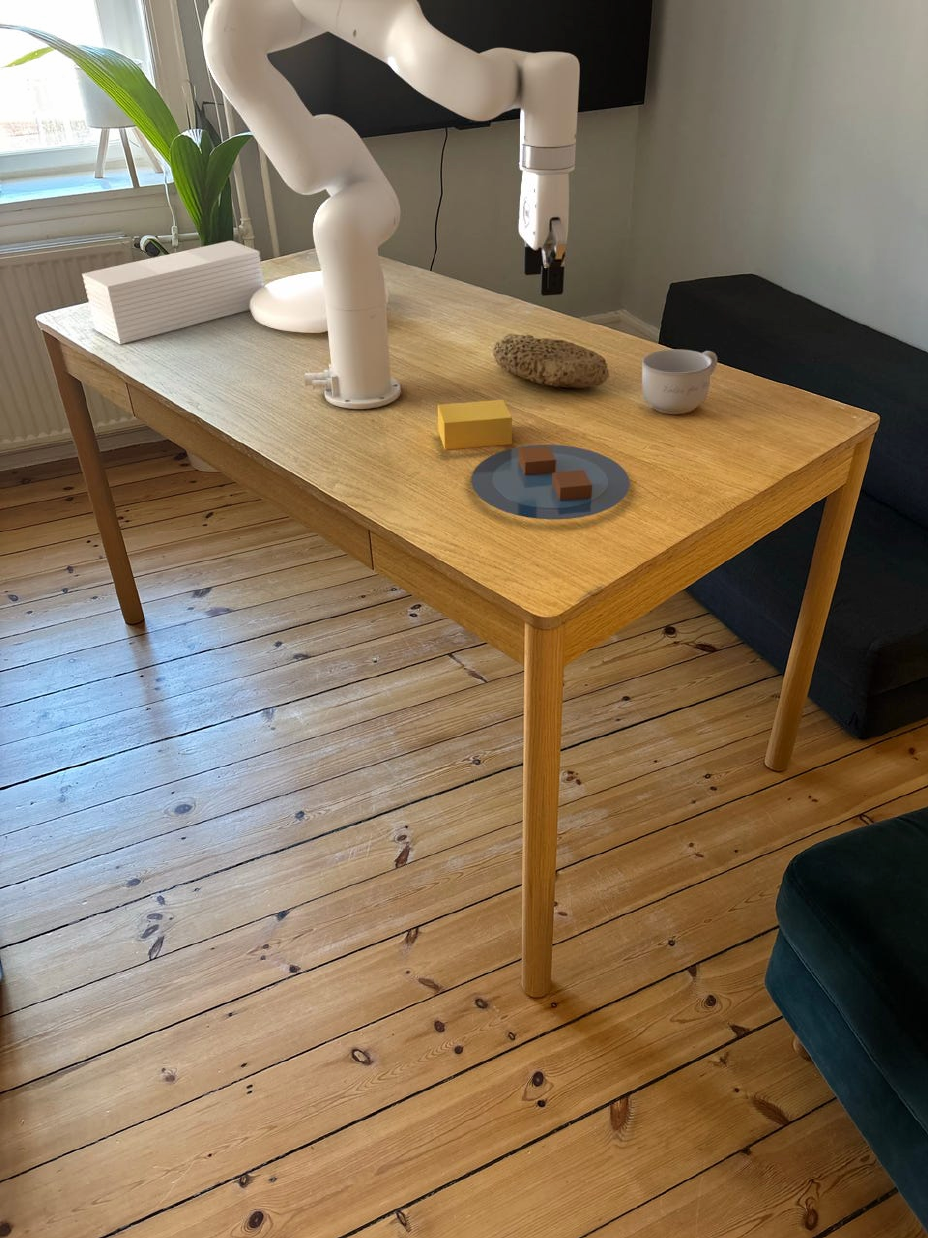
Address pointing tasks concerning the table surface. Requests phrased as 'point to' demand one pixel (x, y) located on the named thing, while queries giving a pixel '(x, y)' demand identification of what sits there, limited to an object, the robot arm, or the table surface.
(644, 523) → the table surface
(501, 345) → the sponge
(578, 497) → the block
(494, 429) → the scrub sponge
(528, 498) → the side plate
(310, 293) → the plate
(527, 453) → the block
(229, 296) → the white long rectangular block
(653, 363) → the teacup
